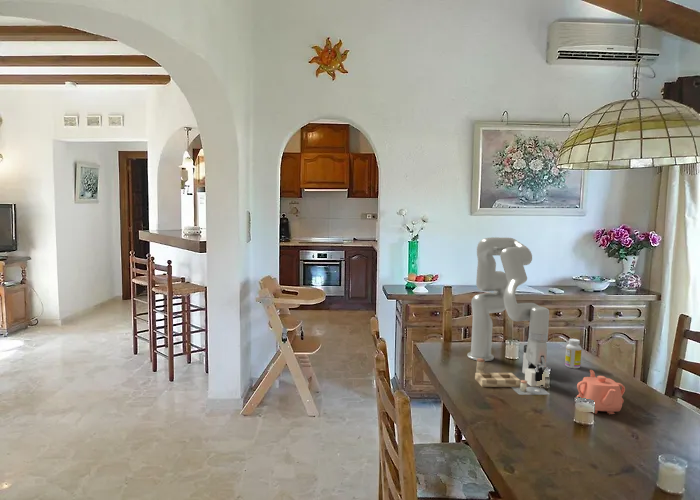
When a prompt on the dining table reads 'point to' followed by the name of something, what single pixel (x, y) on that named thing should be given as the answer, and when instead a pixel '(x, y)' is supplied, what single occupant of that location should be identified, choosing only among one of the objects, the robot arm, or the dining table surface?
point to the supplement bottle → (573, 354)
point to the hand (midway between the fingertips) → (535, 377)
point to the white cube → (530, 376)
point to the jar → (525, 360)
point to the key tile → (529, 389)
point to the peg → (480, 365)
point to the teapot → (602, 392)
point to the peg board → (497, 380)
